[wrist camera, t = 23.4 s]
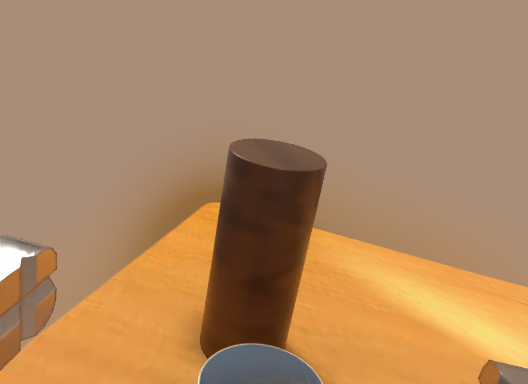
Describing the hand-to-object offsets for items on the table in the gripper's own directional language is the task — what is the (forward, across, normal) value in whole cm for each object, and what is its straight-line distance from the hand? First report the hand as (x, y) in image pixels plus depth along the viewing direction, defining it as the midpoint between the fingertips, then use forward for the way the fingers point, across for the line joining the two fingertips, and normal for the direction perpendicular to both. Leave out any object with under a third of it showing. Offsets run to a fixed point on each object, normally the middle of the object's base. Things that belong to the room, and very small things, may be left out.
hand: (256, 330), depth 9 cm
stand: (+28, +3, +23) cm, 36 cm away
